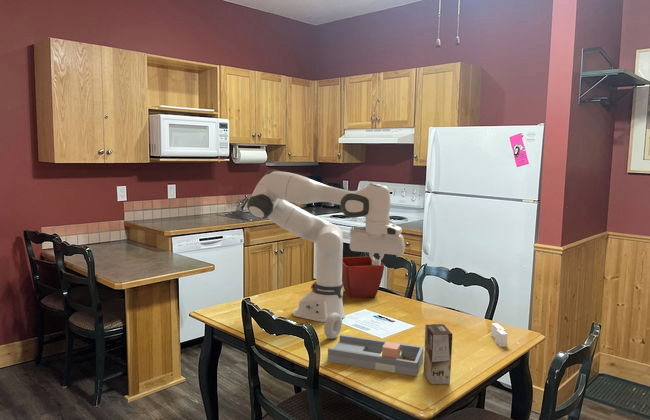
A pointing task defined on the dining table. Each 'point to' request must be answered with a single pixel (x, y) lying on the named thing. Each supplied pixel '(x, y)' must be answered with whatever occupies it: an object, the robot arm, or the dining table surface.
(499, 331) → the napkin holder
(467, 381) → the dining table surface
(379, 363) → the tray
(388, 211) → the robot arm
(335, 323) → the grey wheel
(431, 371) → the coffee box
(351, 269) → the plant pot
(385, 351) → the block
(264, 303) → the dining table surface
